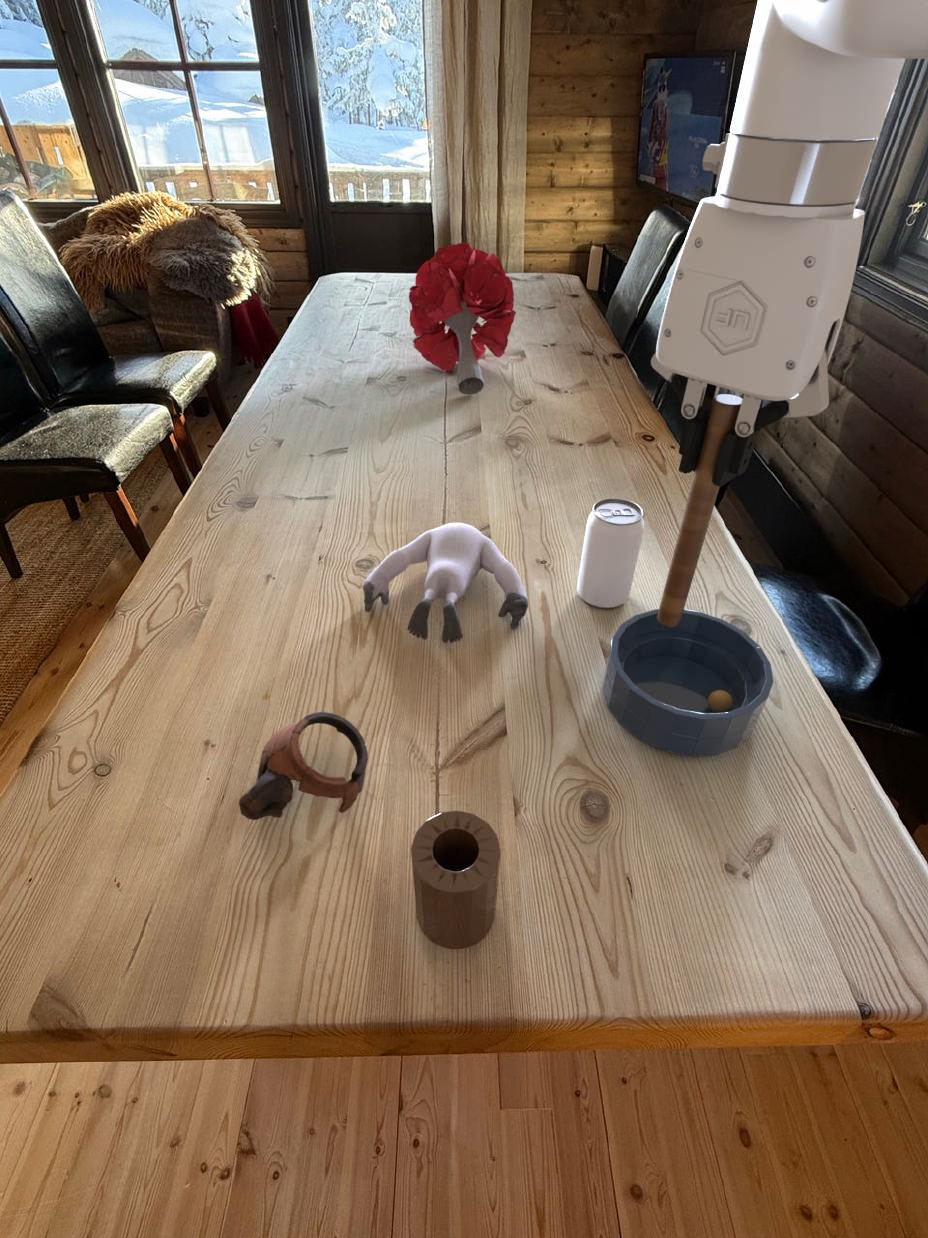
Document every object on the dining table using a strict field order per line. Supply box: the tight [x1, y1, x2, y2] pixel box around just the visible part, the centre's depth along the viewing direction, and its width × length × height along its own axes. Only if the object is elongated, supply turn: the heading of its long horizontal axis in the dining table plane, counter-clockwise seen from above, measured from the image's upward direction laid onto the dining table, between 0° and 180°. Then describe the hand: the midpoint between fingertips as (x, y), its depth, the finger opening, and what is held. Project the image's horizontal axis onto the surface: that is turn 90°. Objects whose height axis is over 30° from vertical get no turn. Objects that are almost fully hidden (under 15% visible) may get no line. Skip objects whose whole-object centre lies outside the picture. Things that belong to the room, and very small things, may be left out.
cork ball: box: [707, 690, 733, 713], centre depth 66 cm, size 2×2×2 cm
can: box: [576, 497, 645, 609], centre depth 78 cm, size 6×6×12 cm
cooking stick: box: [657, 393, 743, 627], centre depth 52 cm, size 2×2×20 cm
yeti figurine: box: [362, 522, 529, 644], centre depth 80 cm, size 20×7×20 cm
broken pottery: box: [238, 711, 369, 821], centre depth 58 cm, size 12×10×8 cm
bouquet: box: [408, 242, 517, 396], centre depth 131 cm, size 22×24×30 cm
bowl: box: [602, 608, 774, 757], centre depth 67 cm, size 15×15×6 cm
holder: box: [410, 809, 502, 950], centre depth 49 cm, size 6×6×9 cm
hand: (709, 471), depth 49 cm, fingers closed on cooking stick, 2 cm apart
